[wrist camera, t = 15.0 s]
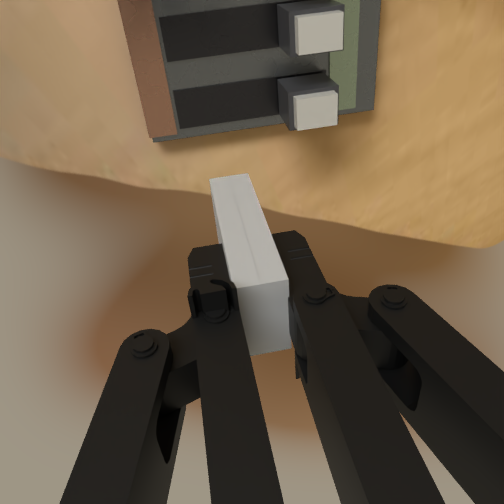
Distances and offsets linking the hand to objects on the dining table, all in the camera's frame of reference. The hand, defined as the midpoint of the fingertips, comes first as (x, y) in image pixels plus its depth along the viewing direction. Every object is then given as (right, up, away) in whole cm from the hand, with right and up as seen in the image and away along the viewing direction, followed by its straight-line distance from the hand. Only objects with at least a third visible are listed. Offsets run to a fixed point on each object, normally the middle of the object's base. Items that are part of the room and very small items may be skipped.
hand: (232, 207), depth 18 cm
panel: (+1, +17, +19) cm, 25 cm away
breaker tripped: (+5, +12, +21) cm, 24 cm away
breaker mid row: (+5, +16, +18) cm, 24 cm away
